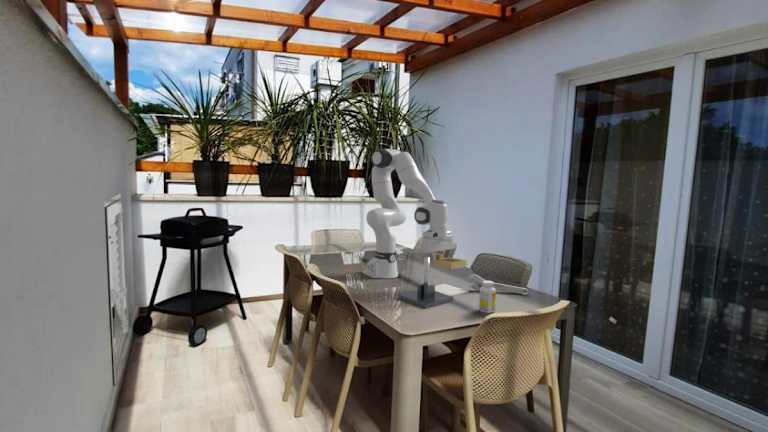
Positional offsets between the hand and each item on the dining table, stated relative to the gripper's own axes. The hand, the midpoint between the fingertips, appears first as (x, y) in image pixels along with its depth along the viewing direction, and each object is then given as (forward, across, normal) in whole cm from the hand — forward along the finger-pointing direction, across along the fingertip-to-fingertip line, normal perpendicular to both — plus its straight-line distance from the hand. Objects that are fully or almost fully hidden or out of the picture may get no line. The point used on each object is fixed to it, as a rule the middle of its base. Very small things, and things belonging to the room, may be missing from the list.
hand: (438, 259), depth 212 cm
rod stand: (+15, +18, +9) cm, 25 cm away
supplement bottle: (+16, +8, +36) cm, 40 cm away
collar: (+2, 0, +6) cm, 6 cm away
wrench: (+16, -20, +22) cm, 34 cm away
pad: (+15, 0, +5) cm, 16 cm away
